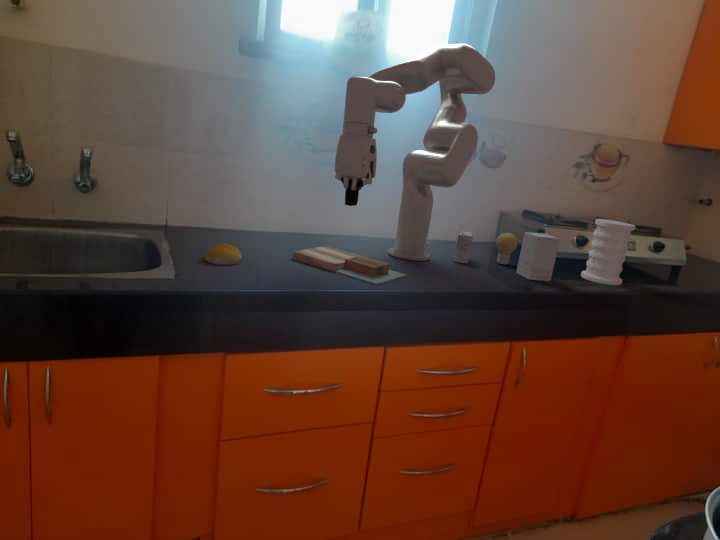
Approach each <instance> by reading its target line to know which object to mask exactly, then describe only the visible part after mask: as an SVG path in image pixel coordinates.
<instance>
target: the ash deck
mask: <svg viewBox="0 0 720 540" xmlns="http://www.w3.org/2000/svg"><path fill="white" fill-rule="evenodd" d="M358 256H361V255H360V254H355V253H352V252H349V251H345V250H341V249H337V248H334V247H330V246H328V245H326V246H320V247H313V248H307V249H300V250H294V251H292V260H295V261H299V262H301V263H305V264H307V265H311V266H314V267H316V268H317V267H318V268H321V269H324V270H327V271H330V272H334V273H336V271H338V270H342V269H344V264H345V259H349V258H353V257H358ZM365 257H366V256H365ZM366 258H368V257H366Z"/></svg>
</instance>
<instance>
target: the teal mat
mask: <svg viewBox="0 0 720 540" xmlns="http://www.w3.org/2000/svg"><path fill="white" fill-rule="evenodd" d="M335 273H337V274H340V275H343V276H347V277H349V276H350V277H349V278H352V277H353V279H356V280H360V281H363V282H367V283H369V284H373V285H376V286H377V285H381V284H385V283H388V282H392V281H395V280H397V279H401V278H403V277H407V274H406V273H401V272H398V271H394V270H391V269H389V273H388V274H385V275H381V276H378V277H374V278H373V277H370V276H366V275H363V274H360V273H356V272H353V271H350V270H346V269H342V270H338V271H336V272H335Z"/></svg>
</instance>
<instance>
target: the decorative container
mask: <svg viewBox="0 0 720 540" xmlns="http://www.w3.org/2000/svg"><path fill="white" fill-rule="evenodd" d="M594 224H595V225H596V227H595V229H594V231H593V240H592V241H591V243H590V245H591V249H590V250H589V252H588V256H589V257H588V260H586V265H585V266H586V267H585V270H582V271H581V273H580V277H582V279H584V280H587V281H591V282H594V283H598V284H602V285H609V286H621V285H622V284H623V279H622V278H621V277H620V274H621V273H622V272H623V263H624V262H625V260H626V257H625V256H626V255H625V254H626V253H627V252H628V250H629V246H628V244H629V242H630V241H631V238H632V237H631V232H632V231H635V229H636V225H635V224H632V223H627V222H625V221H624V222H623V221H619V220H614V219H613V220H612V219H606V218H605V219H603V218H596V219H595V221H594Z"/></svg>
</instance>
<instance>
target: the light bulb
mask: <svg viewBox="0 0 720 540" xmlns="http://www.w3.org/2000/svg"><path fill="white" fill-rule="evenodd" d="M495 242H496V243H495V244H496V245H495V246H496V249H497V251H498V254H497V259H496V262H497V264H499V265H502V264H503V266H505V265H509V264H510V260H511V259H510V258H511V253H513V252H514V251H515V250H516V248H517V246H518V238H517V236H515V234H513V233H510V232H504V233H501V234H499V235H498V236H497V239H496V241H495Z"/></svg>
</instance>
